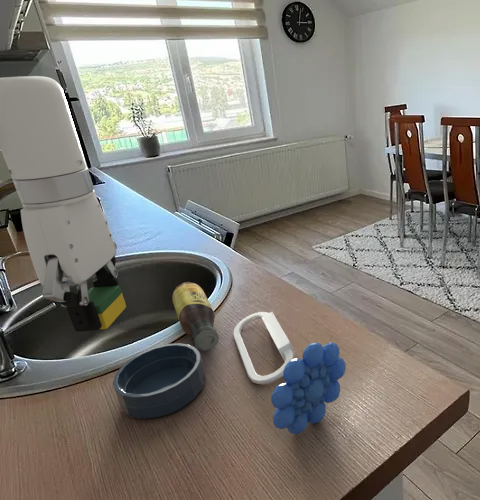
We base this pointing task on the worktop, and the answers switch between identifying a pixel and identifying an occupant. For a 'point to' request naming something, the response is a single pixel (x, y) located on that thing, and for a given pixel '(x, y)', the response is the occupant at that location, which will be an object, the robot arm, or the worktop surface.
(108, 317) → the sponge
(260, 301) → the worktop surface
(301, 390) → the blue flower ornament
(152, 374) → the bowl
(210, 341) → the sauce bottle
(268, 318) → the oval loop handle
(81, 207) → the robot arm
